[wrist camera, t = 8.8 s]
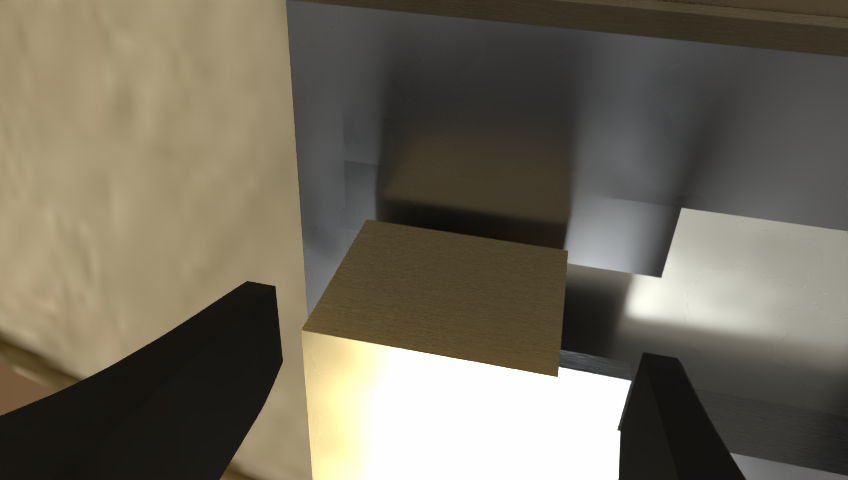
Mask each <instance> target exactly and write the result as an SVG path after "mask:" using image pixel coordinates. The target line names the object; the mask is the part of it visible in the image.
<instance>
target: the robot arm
mask: <svg viewBox="0 0 848 480" xmlns="http://www.w3.org/2000/svg"><path fill="white" fill-rule="evenodd" d="M282 362H283V358H282V348H281V338H280V328H279V318H278V308H277V298H276V288H275V286H272V285H266V284H260V283H255V282H249V281H247V282H245V283H243V284H242V285H240V286H239V287H237V288H235V289H234V290H232V291H231V292H229V293H228V294H226V295H225V296H223V297H222V298H220V299H219V300H217V301H216V302H214V303H213V304H211V305H210V306H208V307H207V308H205V309H204V310H202V311H200V312H199V313H197V314H196V315H194V316H193V317H191V318H190V319H188V320H187V321H185V322H183V323H182V324H180V325H179V326H177V327H176V328H174V329H173V330H171V331H169V332H168V333H166V334H165V335H163V336H162V337H160V338H158V339H156V340H155V341H153V342H151V343H150V344H148V345H146V346H144V347H143V348H141V349H139V350H138V351H136V352H134V353H132V354H131V355H129V356H127V357H126V358H124V359H122V360H120V361H119V362H117V363H115V364H113V365H111V366H110V367H108V368H106V369H104V370H102V371H100V372H98V373H96V374H94V375H92V376H90V377H88V378H86V379H84V380H82V381H80V382H78V383H76V384H74V385H72V386H70V387H68V388H66V389H63V390H61V391H59V392H57V393H55V394H52V395H50V396H48V397H45V398H43V399H40V400H38V401H35V402H33V403H31V404H28V405H26V406H23V407H21V408H18V409H16V410H14V411H11V412H9V413H6V414H4V415H1V416H0V480H220V478H221V476H222V475H223V473H224V471H225V470H226V468H227V466H228V465H229V463H230V461H231V460H232V458H233V456H234V455H235V453H236V451H237V450H238V448H239V446H240V445H241V443H242V442H243V440H244V438H245V437H246V435H247V433H248V432H249V430H250V428H251V426H252V425H253V423H254V421H255V420H256V418H257V416H258V415H259V413H260V411H261V409H262V408H263V406H264V404H265V402H266V400H267V397H268V395H269V393H270V391H271V389H272V386H273V384H274V382H275V379H276V377H277V374H278V372H279V370H280V367H281V365H282ZM618 480H747V479H746V478H745V476H744V475H743V473H742V472H741V470H740V469H739V467H738V465H737V464H736V462H735V461H734V459H733V457H732V456H731V454H730V452H729V451H728V449H727V447H726V446H725V444H724V442H723V440H722V439H721V437H720V435H719V434H718V432H717V430H716V429H715V427H714V425H713V423H712V421H711V420H710V418H709V416H708V414H707V412H706V410H705V409H704V407H703V405H702V403H701V401H700V399H699V397H698V395H697V393H696V391H695V389H694V387H693V385H692V383H691V381H690V379H689V377H688V375H687V373H686V371H685V369H684V367H683V365H682V363H681V362H680V361H679V359H678V358H674V357H668V356H663V355H657V354H652V353H646V352H643V354H642V357H641V361H640V364H639V368H638V371H637V374H636V378H635V381H634V385H633V388H632V391H631V395H630V398H629V402H628V405H627V408H626V412H625V415H624V419H623V422H622V425H621V429H620V450H619V479H618Z"/></svg>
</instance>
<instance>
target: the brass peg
mask: <svg viewBox="0 0 848 480" xmlns="http://www.w3.org/2000/svg"><path fill="white" fill-rule="evenodd" d="M567 261H568V251H567V250H561V249H554V248H548V247H541V246H535V245H528V244H522V243H515V242H509V241H502V240H496V239H489V238H483V237H476V236H470V235H463V234H457V233H450V232H444V231H437V230H431V229H424V228H418V227H411V226H405V225H398V224H392V223H385V222H379V221H373V220H366V221H365V223H364V224H363V226H362V228H361V230H360V231H359V233H358V235H357V236H356V238H355V240H354V241H353V243H352V245H351V247H350V248H349V250H348V252H347V253H346V255H345V257H344V259H343V260H342V262H341V264H340V265H339V267H338V269H337V270H336V272H335V274H334V276H333V277H332V279H331V281H330V282H329V284H328V286H327V287H326V289H325V291H324V293H323V294H322V296H321V298H320V299H319V301H318V303H317V305H316V306H315V308H314V310H313V311H312V313H311V315H310V316H309V318H308V320H307V322H306V323H305V325H304V327H303V328H302V330H301V332H302V345H303V358H304V371H305V384H306V397H307V410H308V423H309V436H310V449H311V462H312V475H313V480H537V479H538V474H539V469H540V464H541V459H542V454H543V449H544V444H545V440H546V435H547V430H548V425H549V420H550V415H551V410H552V405H553V401H554V396H555V391H556V386H557V381H558V373H559V361H560V348H561V336H562V323H563V311H564V298H565V286H566V273H567Z"/></svg>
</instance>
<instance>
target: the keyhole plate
mask: <svg viewBox="0 0 848 480" xmlns="http://www.w3.org/2000/svg"><path fill="white" fill-rule="evenodd" d="M286 7H287V22H288V36H289V51H290V65H291V80H292V94H293V108H294V123H295V137H296V152H297V166H298V181H299V195H300V210H301V224H302V239H303V253H304V267H305V282H306V296H307V311H308V318H309V316H310V315H311V313H312V311H313V310H314V308H315V306H316V305H317V303H318V301H319V299H320V298H321V296H322V294H323V293H324V291H325V289H326V287H327V286H328V284H329V282H330V281H331V279H332V277H333V276H334V274H335V272H336V270H337V269H338V267H339V265H340V264H341V262H342V260H343V259H344V257H345V255H346V253H347V252H348V250H349V248H350V247H351V245H352V243H353V241H354V240H355V238H356V236H357V235H358V233H359V231H360V230H361V228H362V226H363V224H364V223H365V221H366V220H373V221H379V222H385V223H392V224H398V225H405V226H411V227H418V228H424V229H431V230H437V231H444V232H450V233H457V234H463V235H470V236H476V237H483V238H489V239H496V240H502V241H509V242H515V243H522V244H528V245H535V246H541V247H548V248H554V249H561V250H567V251H568V261H567V273H566V286H565V298H564V311H563V323H562V336H561V348H560V361H559V373H558V381H557V386H556V391H555V396H554V401H553V405H552V410H551V415H550V420H549V425H548V430H547V435H546V440H545V444H544V449H543V454H542V459H541V464H540V469H539V474H538V479H537V480H618V479H619V450H620V429H621V425H622V422H623V419H624V415H625V412H626V408H627V405H628V402H629V398H630V395H631V391H632V388H633V385H634V381H635V378H636V374H637V371H638V368H639V364H640V361H641V357H642V354H643V352H646V353H652V354H657V355H663V356H668V357H674V358H678V359H679V361H680V362H681V363H682V365H683V367H684V369H685V371H686V373H687V375H688V377H689V379H690V381H691V383H692V385H693V387H694V389H695V391H696V393H697V395H698V397H699V399H700V401H701V403H702V405H703V407H704V409H705V410H706V412H707V414H708V416H709V418H710V420H711V421H712V423H713V425H714V427H715V429H716V430H717V432H718V434H719V435H720V437H721V439H722V440H723V442H724V444H725V446H726V447H727V449H728V451H729V452H730V454H731V456H732V457H733V459H734V461H735V462H736V464H737V465H738V467H739V469H740V470H741V472H742V473H743V475H744V476H745V478H746V479H747V480H848V18H840V17H830V16H819V15H808V14H797V13H787V12H776V11H765V10H754V9H744V8H733V7H722V6H711V5H701V4H690V3H679V2H668V1H658V0H286Z"/></svg>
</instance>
